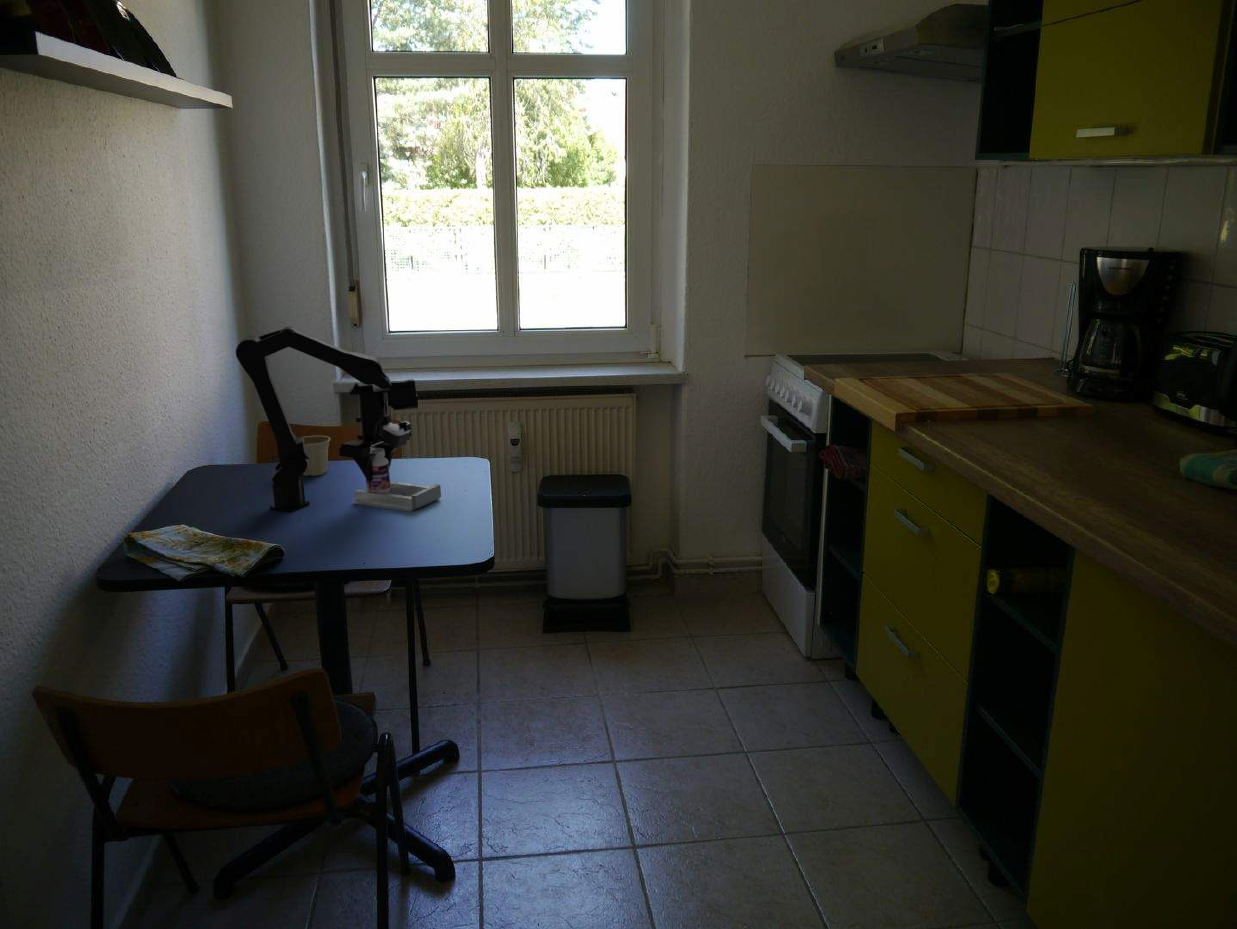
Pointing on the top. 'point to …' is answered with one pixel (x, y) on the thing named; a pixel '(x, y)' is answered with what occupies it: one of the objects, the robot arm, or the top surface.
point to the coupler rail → (399, 496)
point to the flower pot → (317, 455)
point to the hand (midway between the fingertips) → (377, 477)
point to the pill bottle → (379, 472)
